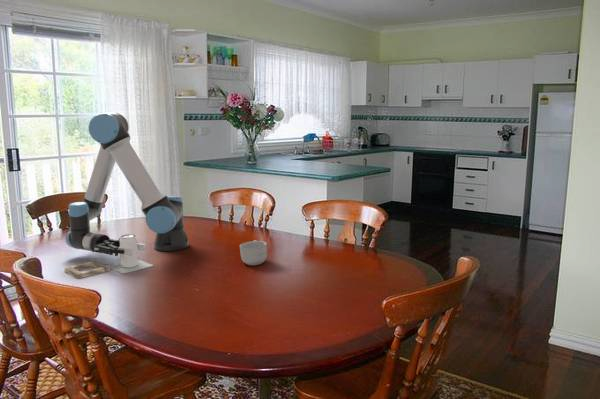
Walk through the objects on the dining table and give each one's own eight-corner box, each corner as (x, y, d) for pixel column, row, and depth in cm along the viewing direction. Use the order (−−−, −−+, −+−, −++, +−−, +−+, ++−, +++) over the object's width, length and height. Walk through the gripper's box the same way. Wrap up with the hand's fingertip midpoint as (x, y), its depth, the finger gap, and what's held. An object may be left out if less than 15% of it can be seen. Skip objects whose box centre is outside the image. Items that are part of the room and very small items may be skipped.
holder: (95, 264, 199) (95, 260, 199) (109, 270, 191) (109, 267, 191) (64, 271, 190) (64, 267, 190) (78, 278, 182) (77, 274, 182)
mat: (137, 259, 205) (136, 258, 205) (153, 266, 196) (153, 265, 196) (106, 266, 196) (106, 266, 196) (122, 274, 187) (122, 273, 187)
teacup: (263, 268, 193) (262, 248, 192) (236, 266, 195) (235, 246, 194) (272, 257, 207) (271, 239, 205) (247, 256, 209) (246, 237, 207)
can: (142, 264, 198) (140, 235, 195) (130, 269, 192) (128, 238, 190) (129, 262, 200) (127, 233, 198) (117, 266, 194) (115, 237, 192)
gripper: (116, 246, 212) (157, 253, 201) (77, 257, 195) (119, 266, 185) (115, 228, 211) (155, 235, 200) (75, 239, 194) (117, 246, 183)
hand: (138, 250), depth 192 cm, fingers closed on can, 6 cm apart
